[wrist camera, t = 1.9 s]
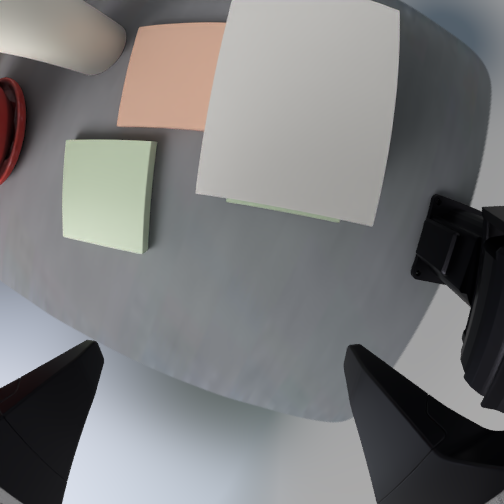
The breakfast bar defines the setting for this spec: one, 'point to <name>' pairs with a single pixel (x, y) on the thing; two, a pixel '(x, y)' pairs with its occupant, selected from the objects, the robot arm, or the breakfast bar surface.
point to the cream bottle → (61, 34)
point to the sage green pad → (108, 192)
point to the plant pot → (10, 125)
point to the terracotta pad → (171, 76)
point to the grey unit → (303, 107)
